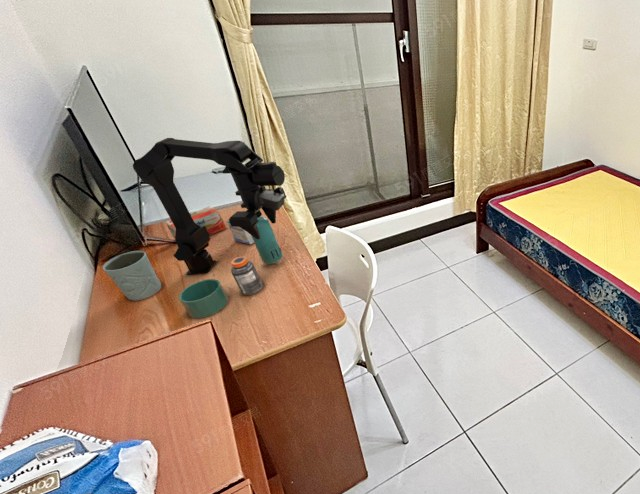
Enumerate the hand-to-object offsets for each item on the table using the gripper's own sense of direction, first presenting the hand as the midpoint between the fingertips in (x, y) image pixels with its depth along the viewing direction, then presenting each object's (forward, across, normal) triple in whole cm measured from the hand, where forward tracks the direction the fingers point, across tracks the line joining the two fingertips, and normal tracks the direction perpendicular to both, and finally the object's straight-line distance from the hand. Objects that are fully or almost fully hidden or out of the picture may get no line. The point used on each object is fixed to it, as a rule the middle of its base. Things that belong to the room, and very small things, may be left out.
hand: (266, 230), depth 125 cm
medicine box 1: (+15, +21, +42) cm, 49 cm away
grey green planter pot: (+14, -12, +38) cm, 42 cm away
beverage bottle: (+14, +3, +4) cm, 15 cm away
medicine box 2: (+14, +17, +21) cm, 30 cm away
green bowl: (+14, -18, +12) cm, 26 cm away
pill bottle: (+14, -11, +3) cm, 19 cm away
